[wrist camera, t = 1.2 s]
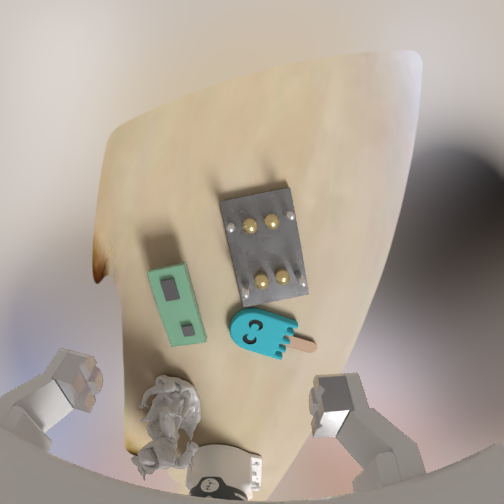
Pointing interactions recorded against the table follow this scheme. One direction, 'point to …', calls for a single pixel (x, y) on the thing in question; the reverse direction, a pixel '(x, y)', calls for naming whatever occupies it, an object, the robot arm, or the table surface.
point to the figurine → (169, 425)
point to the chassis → (265, 247)
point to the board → (177, 304)
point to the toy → (266, 333)
